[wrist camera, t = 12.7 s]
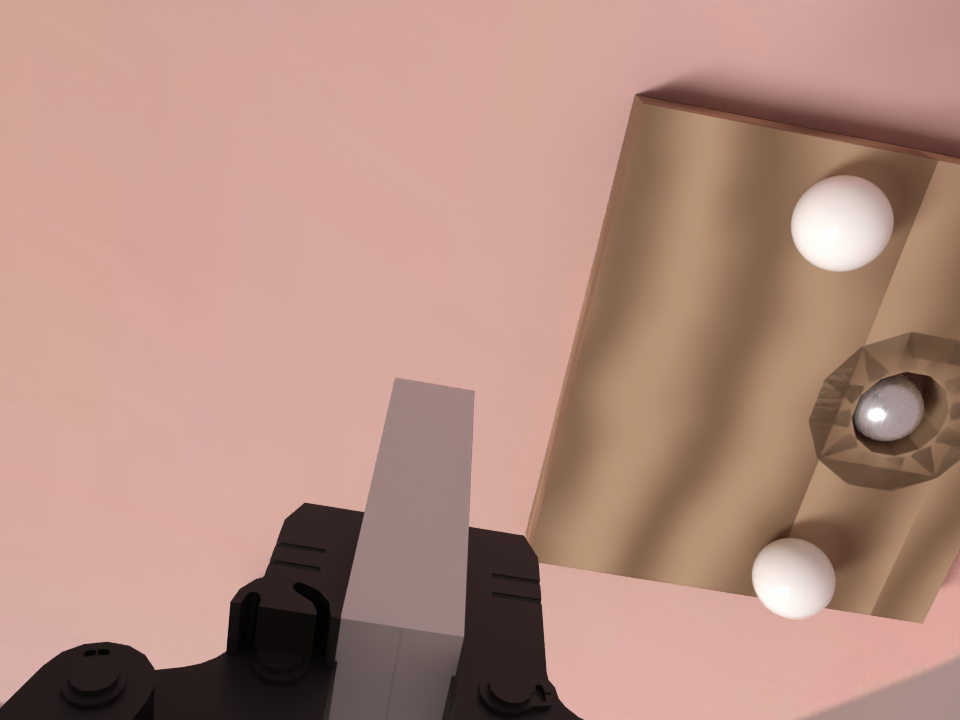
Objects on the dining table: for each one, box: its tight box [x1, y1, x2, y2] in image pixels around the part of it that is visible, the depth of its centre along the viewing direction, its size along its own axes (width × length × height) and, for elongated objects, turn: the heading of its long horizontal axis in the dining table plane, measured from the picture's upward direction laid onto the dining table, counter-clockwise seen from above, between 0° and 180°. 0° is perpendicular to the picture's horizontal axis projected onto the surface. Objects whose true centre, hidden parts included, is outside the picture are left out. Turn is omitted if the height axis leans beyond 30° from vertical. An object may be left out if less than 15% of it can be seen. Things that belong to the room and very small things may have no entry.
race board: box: [526, 95, 960, 623], centre depth 44 cm, size 22×24×2 cm
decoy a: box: [791, 175, 894, 272], centre depth 38 cm, size 4×4×4 cm
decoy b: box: [752, 538, 836, 619], centre depth 45 cm, size 4×4×4 cm
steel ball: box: [852, 373, 924, 441], centre depth 44 cm, size 4×4×4 cm
